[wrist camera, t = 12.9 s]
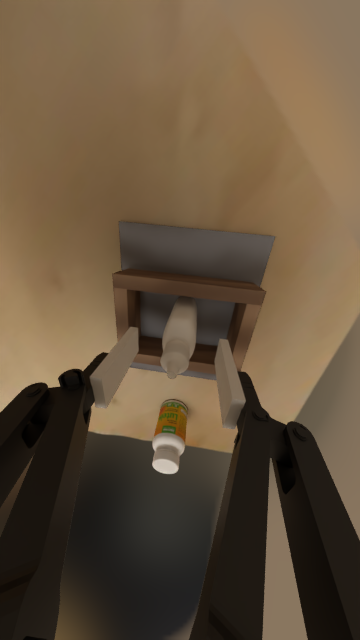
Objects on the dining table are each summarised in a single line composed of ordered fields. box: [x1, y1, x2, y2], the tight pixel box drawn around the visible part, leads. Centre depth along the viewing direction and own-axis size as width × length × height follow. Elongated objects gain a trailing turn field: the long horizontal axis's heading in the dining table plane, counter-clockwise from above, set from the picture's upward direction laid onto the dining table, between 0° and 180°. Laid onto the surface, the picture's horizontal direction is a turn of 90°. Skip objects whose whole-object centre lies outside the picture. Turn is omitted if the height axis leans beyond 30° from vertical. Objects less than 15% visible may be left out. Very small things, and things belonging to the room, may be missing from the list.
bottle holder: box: [112, 221, 275, 380], centre depth 22 cm, size 22×18×6 cm
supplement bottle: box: [152, 400, 187, 474], centre depth 29 cm, size 5×5×10 cm
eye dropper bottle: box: [160, 297, 197, 379], centre depth 18 cm, size 4×6×12 cm
